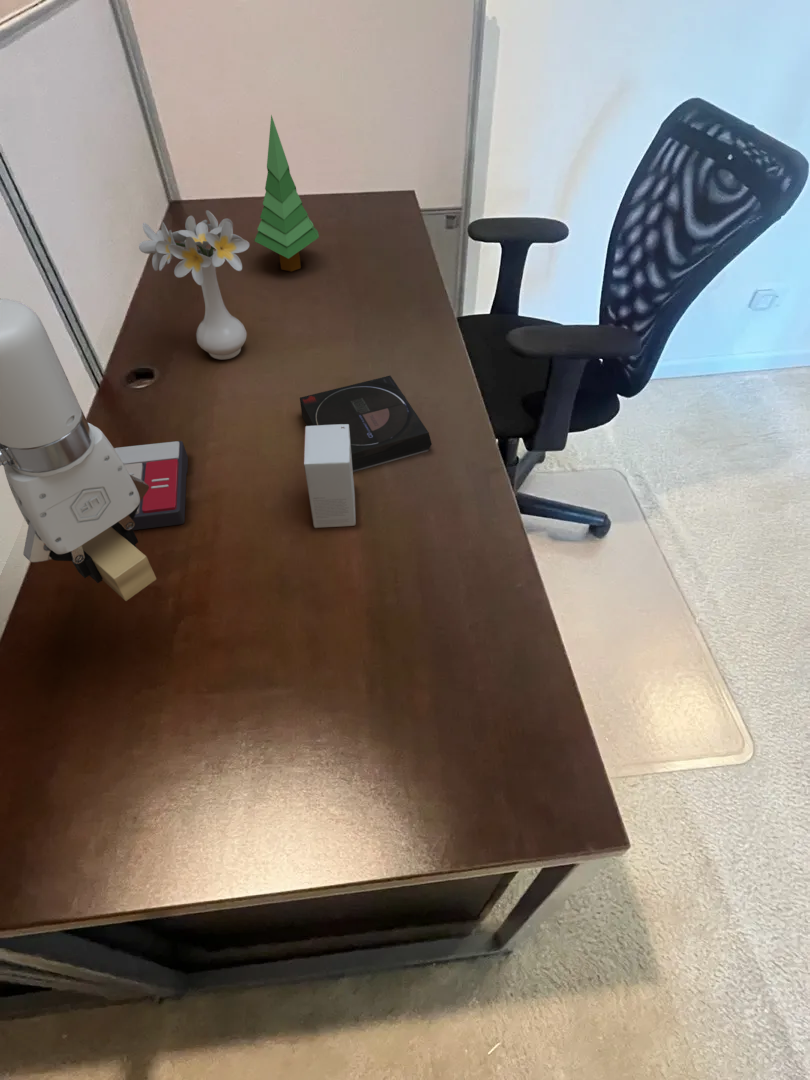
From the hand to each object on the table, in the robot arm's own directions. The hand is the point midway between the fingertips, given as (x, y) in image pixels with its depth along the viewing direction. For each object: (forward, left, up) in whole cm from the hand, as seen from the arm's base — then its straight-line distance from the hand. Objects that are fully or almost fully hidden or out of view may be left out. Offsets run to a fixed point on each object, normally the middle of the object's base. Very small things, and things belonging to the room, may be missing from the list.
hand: (111, 561), depth 75 cm
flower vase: (-42, +48, -15) cm, 66 cm away
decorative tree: (-56, +80, -15) cm, 99 cm away
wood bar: (0, 0, 0) cm, 0 cm away
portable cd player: (-5, +48, -15) cm, 50 cm away
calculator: (-21, +16, -15) cm, 31 cm away
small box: (+3, +32, -15) cm, 35 cm away
